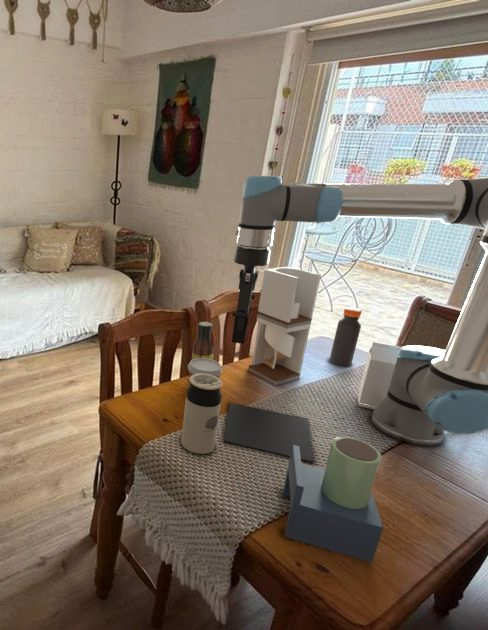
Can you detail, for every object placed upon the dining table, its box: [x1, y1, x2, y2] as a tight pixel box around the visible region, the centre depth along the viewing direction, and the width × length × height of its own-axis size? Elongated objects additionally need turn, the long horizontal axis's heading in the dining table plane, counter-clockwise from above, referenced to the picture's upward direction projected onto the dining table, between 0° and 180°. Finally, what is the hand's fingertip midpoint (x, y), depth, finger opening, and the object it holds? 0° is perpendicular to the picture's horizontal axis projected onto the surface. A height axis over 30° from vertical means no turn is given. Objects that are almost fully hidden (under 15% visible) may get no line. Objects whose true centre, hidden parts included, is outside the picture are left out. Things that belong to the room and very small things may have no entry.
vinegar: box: [329, 306, 362, 367], centre depth 152 cm, size 7×7×20 cm
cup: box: [321, 436, 383, 509], centre depth 80 cm, size 8×8×10 cm
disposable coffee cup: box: [187, 358, 223, 387], centre depth 127 cm, size 10×10×12 cm
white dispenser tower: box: [247, 265, 322, 386], centre depth 140 cm, size 11×11×35 cm
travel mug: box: [180, 373, 223, 455], centre depth 106 cm, size 8×8×18 cm
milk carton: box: [357, 341, 404, 411], centre depth 125 cm, size 7×7×19 cm
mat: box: [223, 402, 314, 464], centre depth 115 cm, size 20×20×1 cm
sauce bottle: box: [191, 321, 214, 360], centre depth 137 cm, size 7×6×20 cm
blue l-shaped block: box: [282, 445, 384, 564], centre depth 84 cm, size 14×13×12 cm
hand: (240, 332), depth 107 cm, fingers open, 13 cm apart
